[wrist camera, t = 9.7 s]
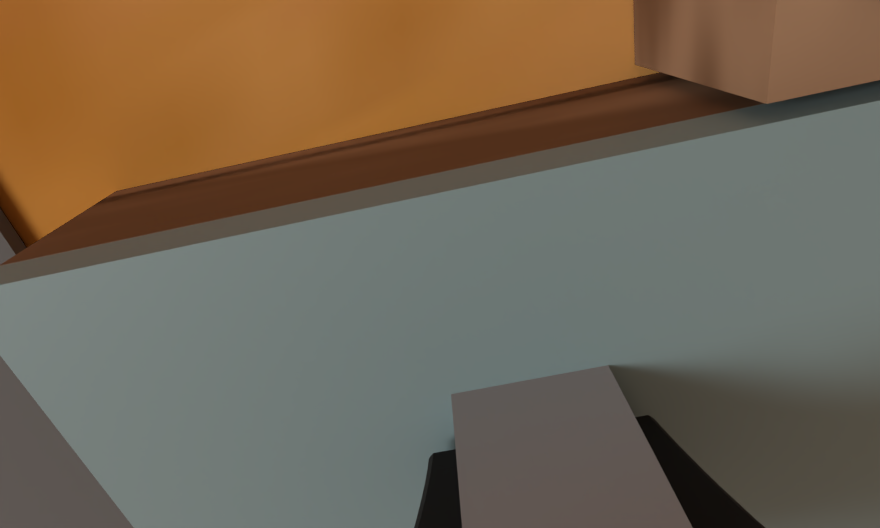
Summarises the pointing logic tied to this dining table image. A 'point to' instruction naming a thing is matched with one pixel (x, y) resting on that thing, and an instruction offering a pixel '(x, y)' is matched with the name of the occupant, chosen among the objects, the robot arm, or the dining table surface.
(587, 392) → the lid
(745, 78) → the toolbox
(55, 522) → the mat
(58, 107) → the dining table surface
